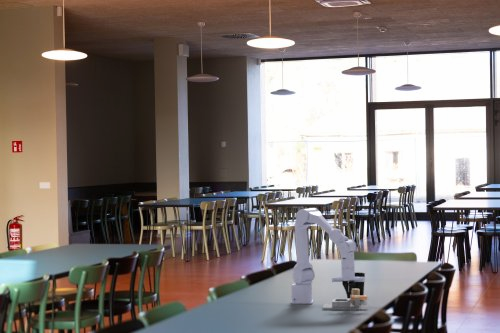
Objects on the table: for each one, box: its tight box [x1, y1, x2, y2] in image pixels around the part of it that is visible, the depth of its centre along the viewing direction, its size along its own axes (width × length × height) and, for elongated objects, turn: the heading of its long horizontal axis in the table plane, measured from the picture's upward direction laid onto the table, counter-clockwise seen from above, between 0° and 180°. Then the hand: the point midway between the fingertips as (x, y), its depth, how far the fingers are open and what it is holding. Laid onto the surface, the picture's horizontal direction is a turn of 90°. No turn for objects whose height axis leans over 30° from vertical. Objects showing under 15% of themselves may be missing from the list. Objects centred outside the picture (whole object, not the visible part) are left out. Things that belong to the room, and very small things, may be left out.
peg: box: [351, 289, 360, 304], centre depth 359 cm, size 4×4×7 cm
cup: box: [351, 272, 366, 296], centre depth 372 cm, size 8×8×12 cm
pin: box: [350, 295, 368, 301], centre depth 350 cm, size 7×2×2 cm, turn 80°
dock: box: [322, 297, 361, 311], centre depth 352 cm, size 16×10×5 cm, turn 80°
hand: (348, 298), depth 351 cm, fingers closed
